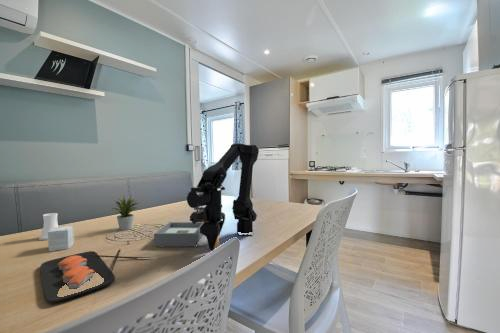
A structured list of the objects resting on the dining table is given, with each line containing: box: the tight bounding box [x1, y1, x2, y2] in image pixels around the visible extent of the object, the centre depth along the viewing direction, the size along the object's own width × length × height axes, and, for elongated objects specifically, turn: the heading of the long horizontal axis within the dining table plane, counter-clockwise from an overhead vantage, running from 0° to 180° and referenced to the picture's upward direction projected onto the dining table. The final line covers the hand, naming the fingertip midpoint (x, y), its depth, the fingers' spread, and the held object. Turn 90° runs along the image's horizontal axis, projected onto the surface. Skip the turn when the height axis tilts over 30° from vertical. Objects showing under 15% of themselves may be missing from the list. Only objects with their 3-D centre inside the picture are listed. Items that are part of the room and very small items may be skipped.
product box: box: [47, 225, 75, 252], centre depth 88 cm, size 6×6×7 cm
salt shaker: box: [38, 212, 59, 241], centre depth 99 cm, size 8×8×10 cm
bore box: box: [153, 221, 204, 247], centre depth 96 cm, size 16×16×5 cm
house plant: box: [111, 194, 143, 231], centre depth 110 cm, size 14×14×16 cm
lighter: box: [192, 206, 208, 222], centre depth 113 cm, size 8×3×10 cm, turn 84°
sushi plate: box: [39, 249, 149, 303], centre depth 72 cm, size 29×30×4 cm
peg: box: [208, 235, 220, 251], centre depth 87 cm, size 4×4×6 cm
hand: (214, 244), depth 87 cm, fingers open, 9 cm apart
